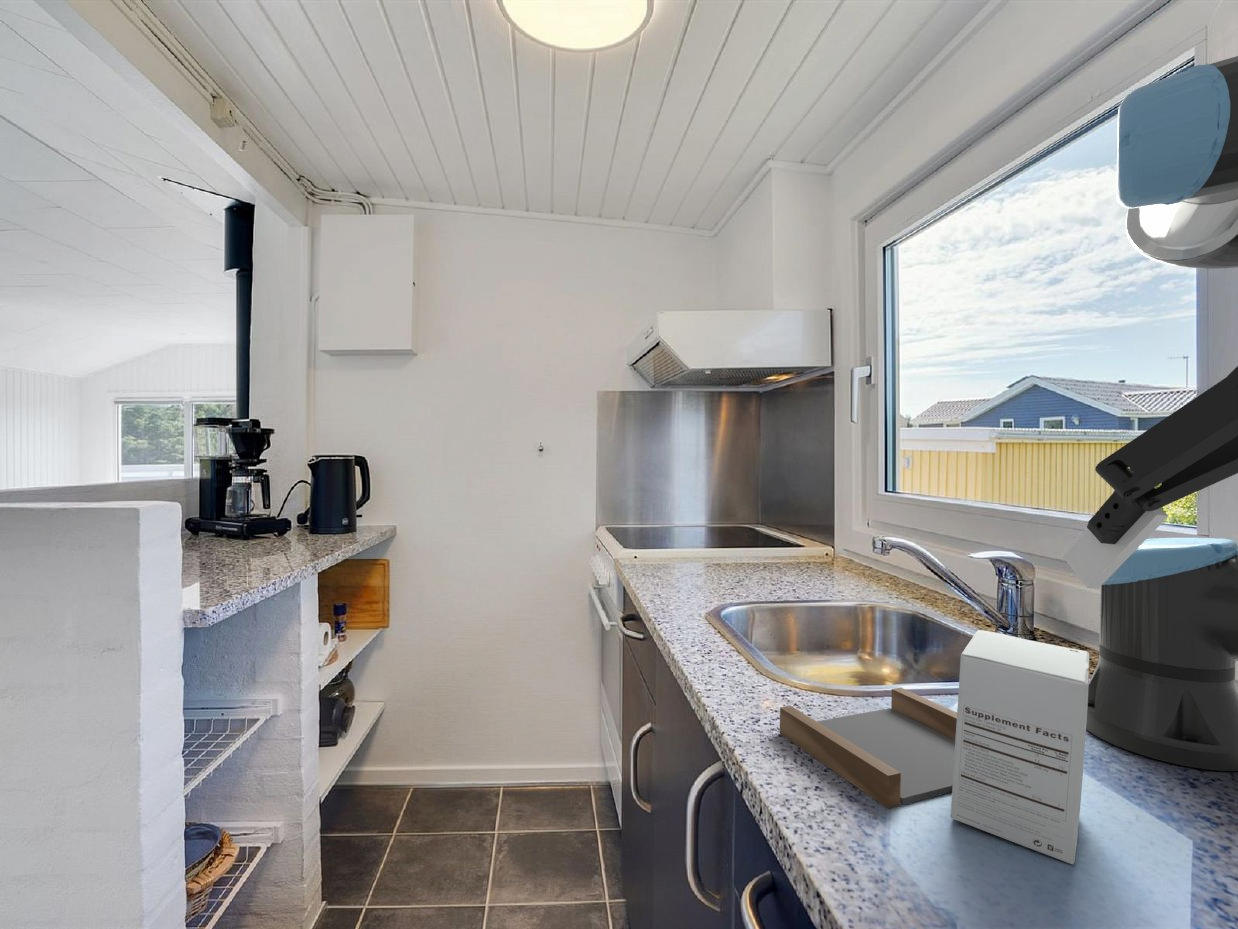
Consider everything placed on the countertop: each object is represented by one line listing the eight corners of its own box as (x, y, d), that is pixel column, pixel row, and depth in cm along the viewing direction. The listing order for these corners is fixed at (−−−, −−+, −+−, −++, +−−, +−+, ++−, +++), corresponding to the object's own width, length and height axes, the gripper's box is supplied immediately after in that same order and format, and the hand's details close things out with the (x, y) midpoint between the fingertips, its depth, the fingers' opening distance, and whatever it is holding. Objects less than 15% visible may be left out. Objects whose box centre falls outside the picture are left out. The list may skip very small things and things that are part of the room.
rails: (900, 711, 76) (900, 687, 76) (1025, 772, 61) (1026, 743, 61) (779, 733, 69) (780, 707, 69) (887, 808, 54) (888, 775, 54)
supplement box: (965, 775, 59) (975, 626, 58) (1079, 813, 54) (1092, 650, 53) (946, 818, 52) (957, 651, 51) (1075, 869, 47) (1089, 681, 46)
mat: (889, 712, 75) (889, 708, 75) (1014, 775, 60) (1014, 769, 60) (792, 731, 70) (792, 725, 70) (902, 804, 55) (902, 798, 55)
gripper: (1340, 268, 23) (1032, 611, 36) (1848, 346, 26) (1388, 642, 39) (1192, 213, 29) (973, 525, 42) (1616, 280, 31) (1285, 556, 44)
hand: (1171, 581), depth 40 cm, fingers open, 13 cm apart
